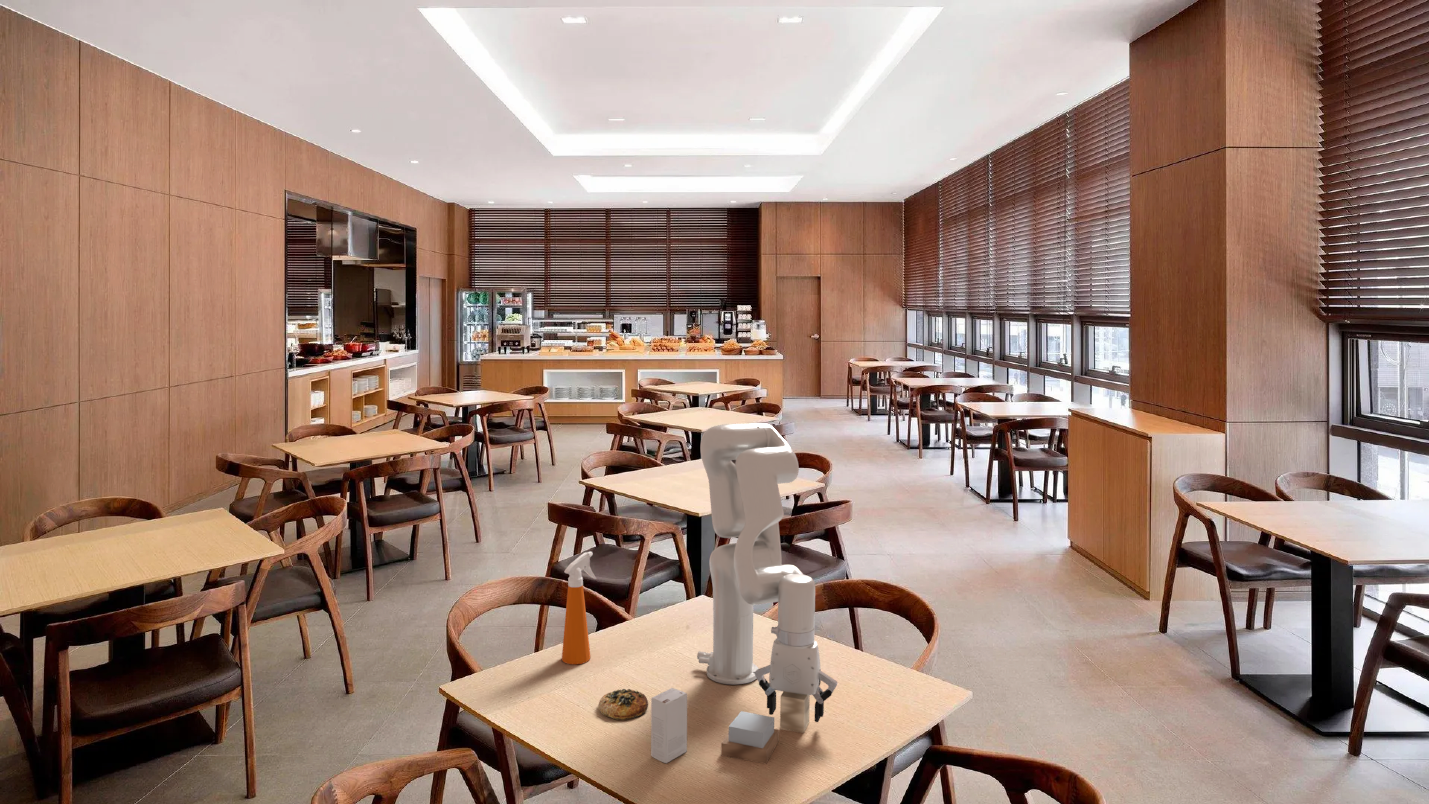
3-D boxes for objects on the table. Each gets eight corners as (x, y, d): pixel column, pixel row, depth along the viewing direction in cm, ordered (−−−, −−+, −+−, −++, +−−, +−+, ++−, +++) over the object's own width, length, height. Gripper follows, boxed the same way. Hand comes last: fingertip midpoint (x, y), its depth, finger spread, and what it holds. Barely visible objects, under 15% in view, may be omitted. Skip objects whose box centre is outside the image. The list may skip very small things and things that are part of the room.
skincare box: (671, 745, 161) (671, 686, 160) (688, 752, 158) (688, 692, 157) (649, 757, 156) (649, 696, 155) (666, 765, 154) (666, 703, 153)
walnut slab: (721, 758, 157) (721, 743, 157) (735, 736, 166) (735, 722, 166) (766, 766, 154) (766, 751, 154) (778, 744, 163) (778, 729, 163)
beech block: (780, 729, 168) (780, 696, 168) (786, 718, 173) (786, 686, 172) (803, 733, 166) (804, 700, 166) (809, 722, 171) (809, 690, 171)
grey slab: (728, 741, 158) (728, 726, 158) (741, 725, 164) (741, 711, 164) (762, 748, 155) (763, 733, 155) (774, 732, 162) (774, 717, 162)
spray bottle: (606, 653, 207) (606, 551, 205) (576, 667, 198) (575, 561, 196) (586, 647, 211) (585, 547, 209) (555, 660, 203) (554, 556, 200)
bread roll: (656, 701, 180) (654, 681, 179) (636, 730, 170) (633, 709, 169) (611, 696, 184) (609, 675, 183) (588, 724, 174) (586, 703, 173)
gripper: (750, 636, 167) (749, 717, 169) (834, 647, 162) (832, 730, 163) (760, 624, 174) (759, 701, 176) (841, 634, 169) (839, 714, 170)
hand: (794, 715), depth 169 cm, fingers open, 9 cm apart
